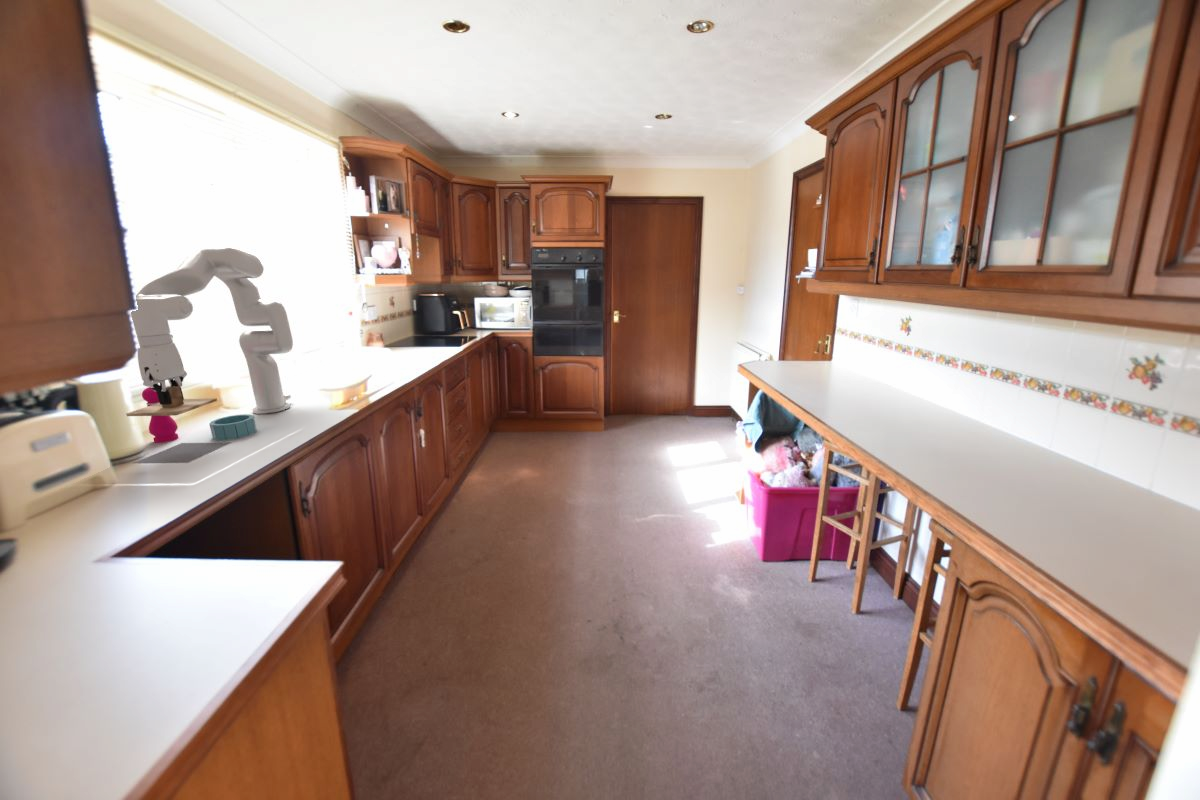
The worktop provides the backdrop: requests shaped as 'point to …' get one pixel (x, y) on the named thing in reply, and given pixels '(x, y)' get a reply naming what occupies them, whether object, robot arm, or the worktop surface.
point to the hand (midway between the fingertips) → (172, 401)
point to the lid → (172, 405)
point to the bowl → (233, 427)
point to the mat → (183, 453)
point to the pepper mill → (160, 420)
